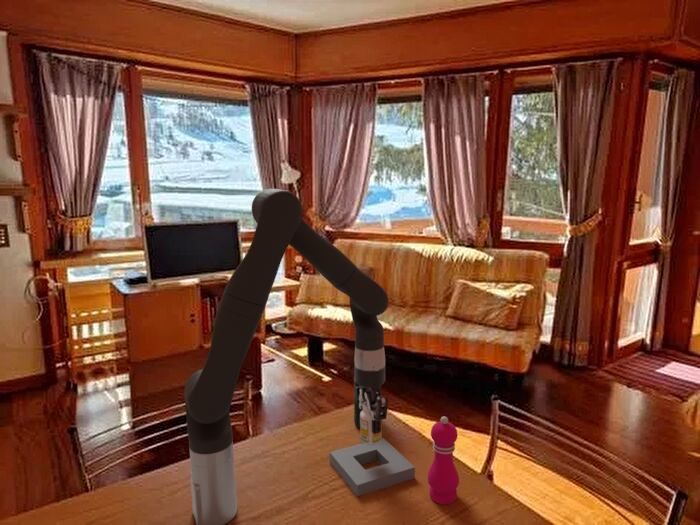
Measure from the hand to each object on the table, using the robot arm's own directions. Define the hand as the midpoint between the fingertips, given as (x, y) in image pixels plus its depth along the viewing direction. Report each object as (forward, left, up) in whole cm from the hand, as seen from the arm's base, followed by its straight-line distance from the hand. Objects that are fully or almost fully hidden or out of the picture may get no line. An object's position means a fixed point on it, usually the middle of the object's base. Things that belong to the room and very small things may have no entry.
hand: (370, 427), depth 128 cm
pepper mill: (+10, -17, -12) cm, 23 cm away
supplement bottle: (0, 0, -4) cm, 4 cm away
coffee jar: (+11, +23, -12) cm, 28 cm away
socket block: (0, 0, -12) cm, 12 cm away
